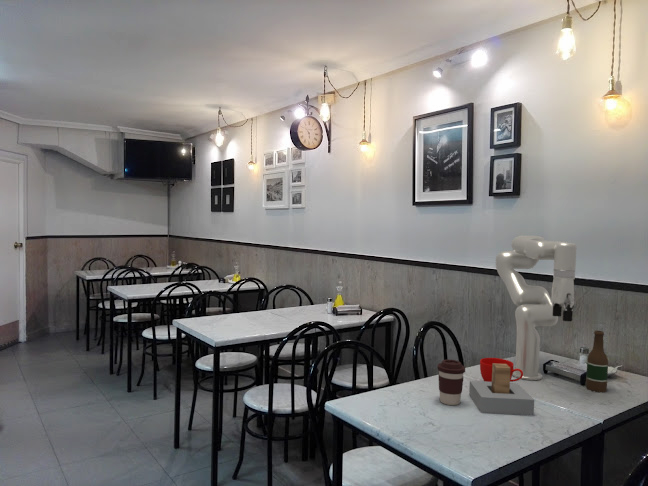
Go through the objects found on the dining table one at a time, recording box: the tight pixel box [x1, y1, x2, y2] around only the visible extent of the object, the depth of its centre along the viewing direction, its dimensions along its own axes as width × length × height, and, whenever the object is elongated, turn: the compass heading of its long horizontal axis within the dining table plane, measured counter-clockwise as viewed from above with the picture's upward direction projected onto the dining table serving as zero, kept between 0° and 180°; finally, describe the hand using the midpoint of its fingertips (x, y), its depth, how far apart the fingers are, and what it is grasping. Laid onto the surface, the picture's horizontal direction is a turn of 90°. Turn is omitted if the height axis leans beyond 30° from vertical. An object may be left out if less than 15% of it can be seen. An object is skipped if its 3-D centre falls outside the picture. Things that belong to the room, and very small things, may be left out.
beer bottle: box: [585, 330, 609, 393], centre depth 201 cm, size 8×8×24 cm
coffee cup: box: [436, 359, 466, 406], centre depth 182 cm, size 10×10×15 cm
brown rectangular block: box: [491, 363, 511, 394], centre depth 181 cm, size 5×5×14 cm
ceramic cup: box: [479, 357, 523, 383], centre depth 201 cm, size 13×17×10 cm
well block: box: [468, 380, 535, 416], centre depth 181 cm, size 18×18×6 cm
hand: (561, 318), depth 191 cm, fingers open, 9 cm apart
